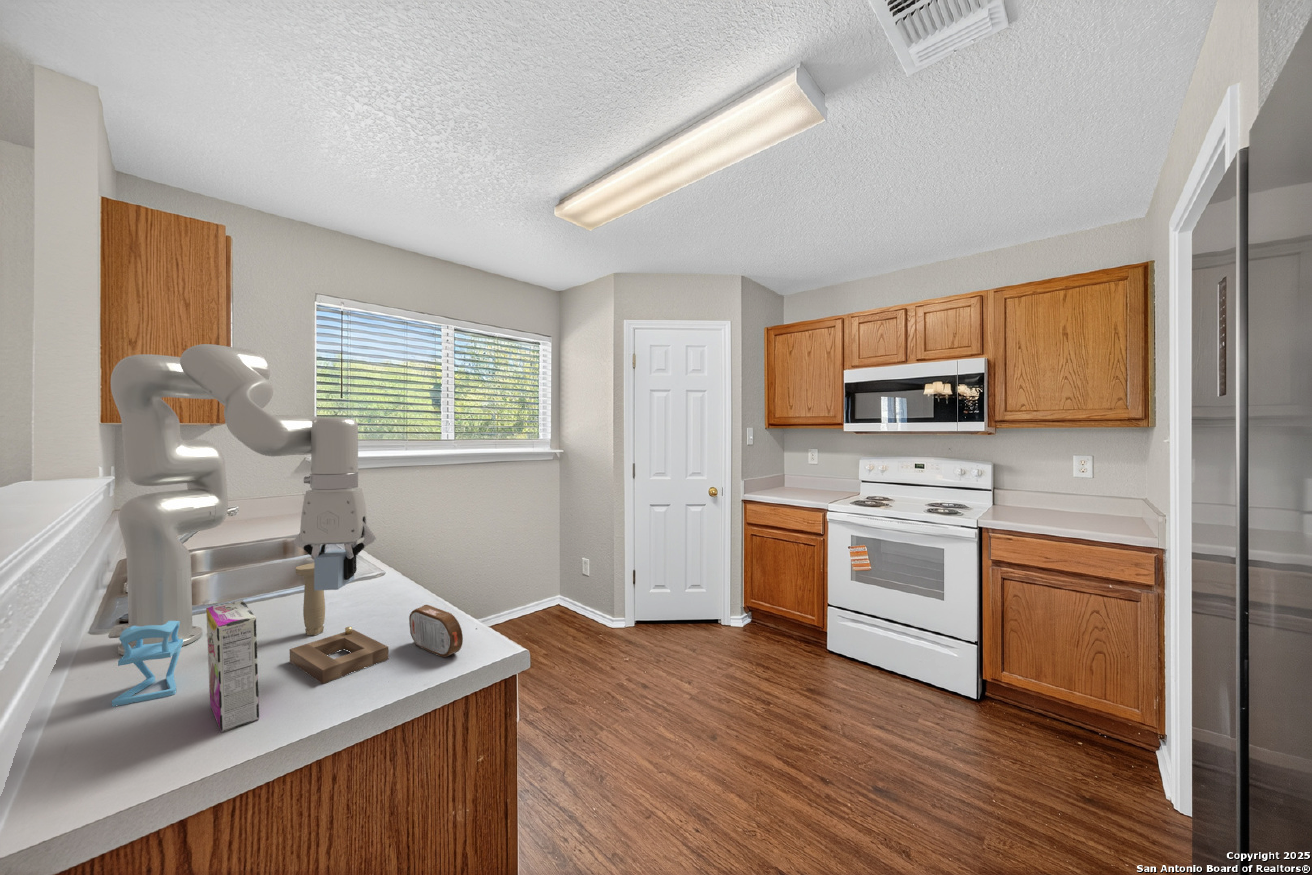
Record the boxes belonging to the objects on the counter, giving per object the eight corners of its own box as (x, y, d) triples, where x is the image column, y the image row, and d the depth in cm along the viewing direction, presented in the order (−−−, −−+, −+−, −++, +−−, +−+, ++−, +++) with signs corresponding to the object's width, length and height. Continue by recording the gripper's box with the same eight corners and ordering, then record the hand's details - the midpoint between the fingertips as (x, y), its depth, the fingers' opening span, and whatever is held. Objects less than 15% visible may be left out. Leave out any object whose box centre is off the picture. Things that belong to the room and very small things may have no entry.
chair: (190, 674, 93) (189, 609, 92) (174, 695, 85) (173, 624, 85) (132, 684, 89) (131, 617, 89) (110, 707, 82) (109, 633, 81)
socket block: (322, 684, 89) (322, 663, 89) (289, 661, 97) (289, 642, 97) (388, 659, 98) (388, 640, 98) (353, 640, 107) (352, 623, 107)
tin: (464, 657, 99) (464, 615, 99) (450, 663, 97) (449, 620, 97) (420, 639, 108) (420, 600, 108) (406, 644, 105) (405, 604, 105)
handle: (334, 631, 111) (333, 564, 111) (299, 641, 107) (298, 570, 106) (328, 625, 115) (327, 560, 114) (294, 634, 110) (293, 566, 109)
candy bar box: (206, 706, 82) (204, 606, 81) (246, 694, 86) (244, 598, 85) (218, 734, 74) (215, 625, 74) (260, 720, 78) (258, 615, 78)
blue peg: (314, 590, 92) (314, 557, 92) (332, 580, 99) (332, 549, 99) (337, 589, 92) (338, 556, 93) (354, 579, 99) (354, 548, 99)
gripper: (274, 485, 90) (275, 586, 91) (375, 484, 93) (375, 582, 94) (297, 480, 98) (298, 573, 98) (389, 479, 100) (389, 570, 101)
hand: (335, 577), depth 96 cm, fingers closed on blue peg, 4 cm apart
